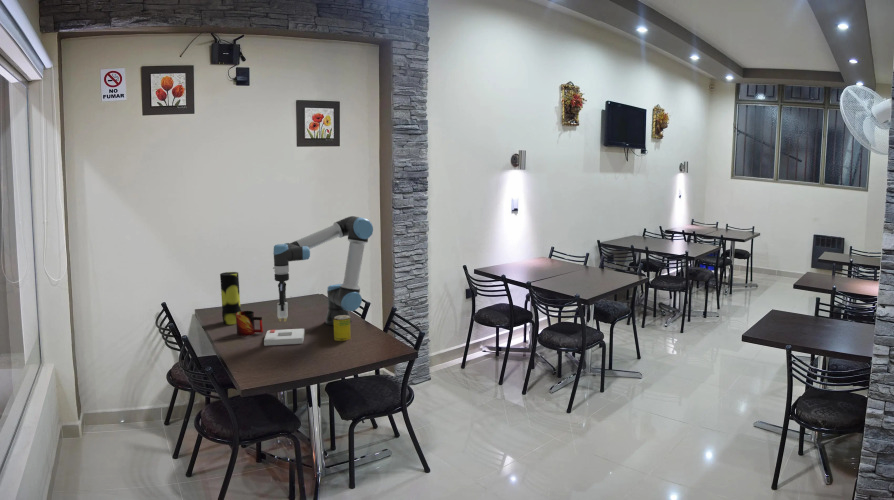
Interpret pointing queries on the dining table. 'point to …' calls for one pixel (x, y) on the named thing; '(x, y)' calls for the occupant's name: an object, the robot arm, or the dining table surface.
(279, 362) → the dining table surface
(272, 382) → the dining table surface
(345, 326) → the yellow can
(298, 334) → the socket
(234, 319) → the container
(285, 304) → the plug
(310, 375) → the dining table surface
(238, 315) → the mug
